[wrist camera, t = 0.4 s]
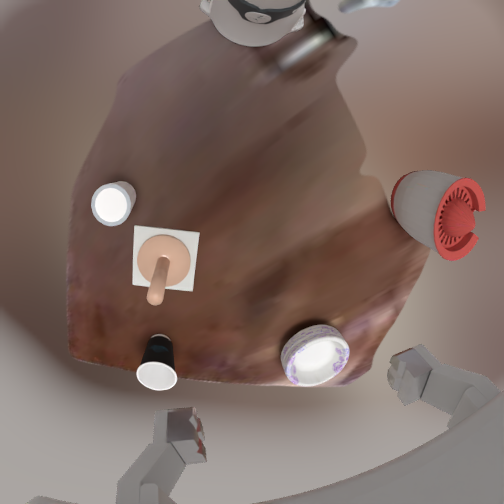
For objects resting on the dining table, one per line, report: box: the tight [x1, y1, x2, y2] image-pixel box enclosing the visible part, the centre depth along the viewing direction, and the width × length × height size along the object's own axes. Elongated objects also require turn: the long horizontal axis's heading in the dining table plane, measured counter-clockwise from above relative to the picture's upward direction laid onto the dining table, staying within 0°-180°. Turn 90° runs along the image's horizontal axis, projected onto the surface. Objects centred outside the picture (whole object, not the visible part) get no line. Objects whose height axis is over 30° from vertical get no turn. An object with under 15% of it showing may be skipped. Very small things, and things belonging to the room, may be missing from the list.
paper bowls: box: [281, 325, 349, 387], centre depth 64 cm, size 15×15×8 cm
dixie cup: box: [137, 334, 177, 390], centre depth 56 cm, size 8×8×11 cm
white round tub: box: [91, 181, 136, 226], centre depth 45 cm, size 7×7×7 cm
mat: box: [133, 225, 200, 291], centre depth 54 cm, size 12×12×1 cm
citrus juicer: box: [391, 170, 485, 261], centre depth 49 cm, size 16×17×20 cm
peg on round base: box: [137, 234, 191, 305], centre depth 47 cm, size 10×10×14 cm
